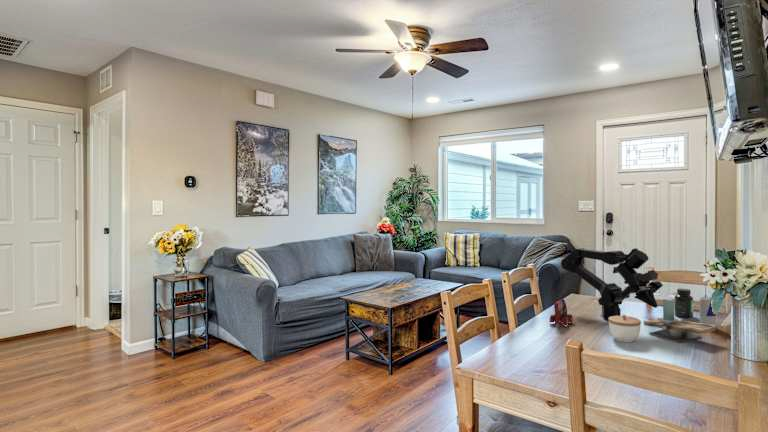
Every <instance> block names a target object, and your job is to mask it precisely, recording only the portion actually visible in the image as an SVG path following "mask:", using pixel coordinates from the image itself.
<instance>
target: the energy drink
mask: <svg viewBox="0 0 768 432" xmlns="http://www.w3.org/2000/svg"><path fill="white" fill-rule="evenodd" d="M711 298H712V297H707V296H703V297H702V296H701V297H699V299H698V300H699V302H698V303H699V304H698V305H699V309H698V310H699V315H698V316H699V323H702V324H709V325H715V327H716V328H717V313H716V314H713V312H712V307H711Z"/></svg>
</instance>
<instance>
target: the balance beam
mask: <svg viewBox="0 0 768 432" xmlns="http://www.w3.org/2000/svg"><path fill="white" fill-rule="evenodd" d="M660 319H663V317H657V319H652V320H643V325H644V326H647V327H651V328H652V327H653V328H661V329H662V327H663V324H664V323H665V322H660ZM665 324H666V323H665ZM668 324H669V325H670V329H671V330H677V331H684V332H690V333H695V334H698V335H703V334H707V333H710V332H714V331H717V330H716V329H717V326H716V327H715V325H709V324H702V323H700V322H693V321H688V322H687V321H681V319H680V320H679V319H678V321H677V322H673V323H668Z"/></svg>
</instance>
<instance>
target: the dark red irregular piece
mask: <svg viewBox="0 0 768 432" xmlns="http://www.w3.org/2000/svg"><path fill="white" fill-rule="evenodd" d="M553 305H554V306H553V307H554V314H551V315H550V316H549V323H550V322H554V321H555V324H559V323H561V322H562V323H561V324H562V325H563V324H564V325H567V324H568V323H569V322H572V321H574V318H573V315H572V314H569V313H568V307H567V303H566V301H565V299H564V298H561V299H559V300H558V301H556V302H554V304H553ZM572 323H573V322H572ZM568 325H569V324H568Z"/></svg>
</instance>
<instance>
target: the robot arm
mask: <svg viewBox="0 0 768 432" xmlns="http://www.w3.org/2000/svg"><path fill="white" fill-rule="evenodd" d="M584 259H591V260H597V261H600V262H603V263H604V264H607V265H609V266H611V265H612V266H614V265H617V266H614V267H613V270H612V274H619V275H620V276H621V277H622V279H623V280H624V281H623V283H624V285H627V286H626V287H625V288H624V289H622V287H620V286H618V284H616V283H615V282H613V283H612V282H611V283H607V282H605V281H604V280H602V279H601V278H600V277H598V276H597V275H595V274H594V273H593V272H591V271H590V270H588V269H587V268H586V267H584V264H583V261H584ZM648 261H649V256H648V255H647V253H645V252H644V251H642V250H639V249H638V248H637V247H636V248H632V249H631V251H629V253H628V254H626V253H624V252H623V251H622V250H610V251H602V250H595V249H587V248H584V247H583V248H580V247H579V248H575V249H574V250H573V251H572V252H571V253H568V255H567V256H565V257H564V258H562V259H561V263H560V264H561V268H562V269H563V270H564V271H567V272H568V273H571V274H576V275H577V276H578V277H579V278H581V279H582V280H583V281H585V282H586V283H587V284H589V285H590V287H593V288H594V289H595V290H596V291H598V292H599V294H600V298H598V300H597V302H598V304H599V306H601V315H600V317H601V316H602V317H603V318H604V319H603V318H602V317H601V318H602V319H603V320H605V319H606V320H605V321H608V318H609V317H611V316H622V315H621V308H620V305H622V303H623V301H624V300H625V299H629V298H630V297H631V296H630V295H631V294H635V296H634V299H637V300H639V301H641V302H643V303H645V304H646V305H649V306H651V307H652V308H655V309H656V308H658V307H659V306H658V303H657V301H656V298H655V295H654V293H656V292H657V291H658V290H659V289H661V288H662V287H664V285H663V284H662V282H661V281H658V277H659V274H658V273H657V271H655V269H651V270H648V271H647V272H645V273H641V272H637V271H636V270H638V269H640V268H641V267H642V266H643V265H644V264H645V263H647V262H648ZM650 281H651V282H650Z"/></svg>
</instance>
